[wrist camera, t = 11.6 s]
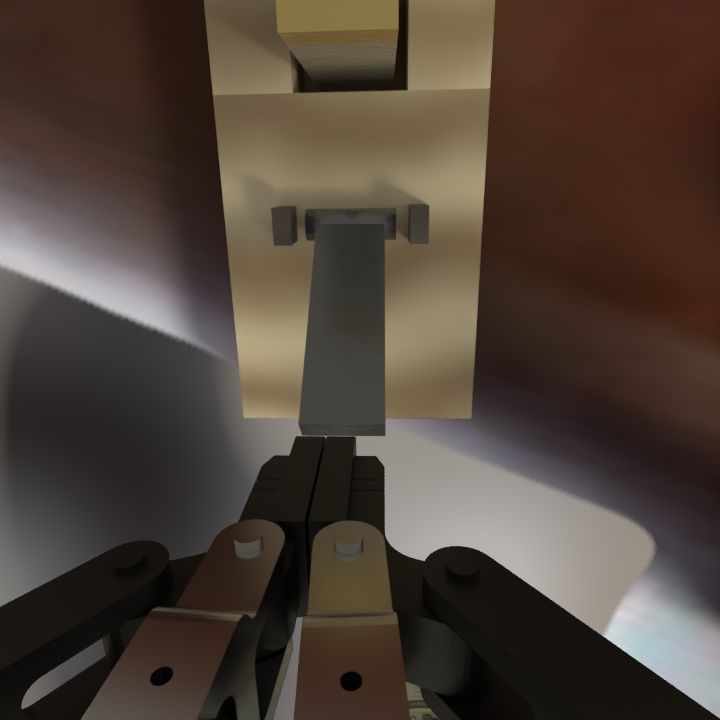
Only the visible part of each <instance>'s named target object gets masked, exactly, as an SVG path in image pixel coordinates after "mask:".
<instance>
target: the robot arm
mask: <svg viewBox="0 0 720 720" xmlns="http://www.w3.org/2000/svg"><path fill="white" fill-rule="evenodd" d="M384 496H385V495H384V466H383V465H382V463H381V462H380V461H379V459H378V458H377V457H376V456H356V437H334V436H330V437H329V436H328V437H327V438H325V437H319V436H316V437H314V436H305V437H304V436H296V438H295V441H294V444H293V447H292V450H291V453H290V455H289V456H273V457H272V458H271V459H270V460H269V461H267V462H266V463H265V464H264V465H263V466H262V467H261V469H260V472H259V474H258V476H257V481H255V484H254V486H253V488H252V492H251V493H250V495H249V498H248V500H247V503H246V505H245V507H244V510H243V512H242V514H241V517H240V519H239V522H238V523H235V524H233V525H230V526H228V527H227V528H225V529H224V530H222V531H221V532H220V533H219V534H218V535H217V536H216V538H215V539H214V541H213V543H212V545H211V546H210V548H209V549H208V551H207V552H205V553H202V554H199V555H195V556H190V557H185V558H181V559H176V560H171V561H170V559H169V552H168V550H167V548H165V546H163V545H162V544H160V543H157V542H154V541H145V540H144V541H134V542H129V543H126V544H122V545H119V546H117V547H115V548H113V549H111V550H109V551H107V552H105V553H103V554H101V555H99V556H97V557H95V558H93V559H91V560H90V561H88V562H86V563H84V564H82V565H80V566H78V567H76V568H74V569H72V570H71V571H68V572H66V573H65V574H63V575H61V576H59V577H57V578H55V579H53V580H51V581H49V582H47V583H45V584H43V585H41V586H40V587H38V588H36V589H34V590H32V591H30V592H28V593H26V594H24V595H23V596H20V597H18V598H17V599H14V600H13V601H11V602H9V603H7V604H5V605H3V606H1V607H0V720H273V719H274V715H275V711H276V708H277V704H278V701H279V697H280V694H281V690H282V686H283V683H284V680H285V676H286V672H287V669H288V665H289V662H290V658H291V655H292V650H293V642H292V635H293V632H294V628H295V623H296V618H297V617H303V621H302V630H301V641H300V653H299V664H298V676H297V688H296V699H295V709H294V720H410V712H409V705H408V697H407V689H406V682H408V683H411V684H414V685H417V686H419V687H420V692H421V695H422V698H423V700H424V701H425V703H426V704H427V706H428V707H429V708H430V709H431V711H432V712H433V713H434V714H435V715H436V716H437V717H438V718H439V719H440V720H720V718H718V717H717V716H715V715H714V714H712V713H711V712H710V711H708V710H707V709H705V708H704V707H703V706H701V705H700V704H698V703H697V702H695V701H694V700H693V699H691V698H690V697H688V696H687V695H685V694H684V693H683V692H681V691H680V690H678V689H677V688H676V687H674V686H673V685H671V684H670V683H668V682H667V681H666V680H664V679H663V678H661V677H660V676H658V675H657V674H656V673H654V672H653V671H651V670H650V669H649V668H647V667H646V666H644V665H643V664H641V663H640V662H639V661H637V660H636V659H634V658H633V657H631V656H630V655H629V654H627V653H626V652H624V651H623V650H621V649H620V648H619V647H617V646H616V645H614V644H613V643H612V642H610V641H609V640H607V639H606V638H604V637H603V636H602V635H600V634H599V633H597V632H596V631H594V630H593V629H592V628H590V627H589V626H587V625H586V624H585V623H583V622H582V621H580V620H579V619H577V618H576V617H575V616H573V615H572V614H570V613H569V612H567V611H566V610H565V609H563V608H562V607H560V606H559V605H558V604H556V603H555V602H553V601H552V600H550V599H549V598H548V597H546V596H545V595H543V594H542V593H540V592H539V591H538V590H536V589H535V588H533V587H532V586H530V585H529V584H527V583H526V582H525V581H523V580H522V579H521V578H519V577H518V576H516V575H515V574H513V573H512V572H510V571H509V570H508V569H506V568H505V567H503V566H502V565H501V564H499V563H498V562H496V561H495V560H494V559H492V558H491V557H489V556H487V555H486V554H484V553H483V552H480V551H478V550H475V549H472V548H468V547H462V546H451V547H445V548H441V549H439V550H436V551H435V552H433V553H431V554H430V555H429V556H428V557H427V559H426V560H425V561H421V560H417V559H414V558H410V557H407V556H405V555H403V554H401V553H400V552H398V551H397V550H395V549H394V548H393V547H392V546H391V545H390V544H389V543H388V541H387V539H386V537H385V528H384V527H385V522H384V520H385V519H384V518H385V513H384V512H385V511H384V510H385V506H384V505H385V504H384V500H385V499H384V498H385V497H384ZM101 638H102V640H103V645H104V649H105V653H106V656H105V657H103V658H102V659H100V660H99V661H98V662H96V663H94V664H93V665H91V666H90V667H88V668H87V669H85V670H84V671H82V672H81V673H79V674H78V675H76V676H75V677H73V678H72V679H70V680H69V681H67V682H66V683H64V684H63V685H61V686H60V687H58V688H57V689H55V690H54V691H52V692H51V693H49V694H48V695H46V696H44V697H43V698H41V699H40V700H38V701H37V702H35V703H34V704H32V705H31V706H29V707H27V708H24V709H21V703H22V700H23V697H24V695H25V693H26V692H27V690H28V689H29V688H30V686H31V685H32V684H33V683H34V682H35V681H36V680H38V679H39V678H40V677H42V676H43V675H45V674H46V673H48V672H49V671H51V670H52V669H54V668H56V667H57V666H59V665H60V664H62V663H64V662H65V661H67V660H68V659H70V658H71V657H73V656H75V655H76V654H78V653H79V652H81V651H82V650H84V649H85V648H87V647H89V646H90V645H92V644H93V643H95V642H97V641H98V640H100V639H101Z"/></svg>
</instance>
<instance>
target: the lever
mask: <svg viewBox="0 0 720 720" xmlns="http://www.w3.org/2000/svg"><path fill="white" fill-rule="evenodd" d="M305 233H306V239H307V241H315V244H314V255H313V267H312V278H311V289H310V300H309V312H308V323H307V334H306V345H305V357H304V368H303V379H302V390H301V401H300V413H299V427H300V430H301V433H302V435H308V436H309V435H310V436H311V435H312V436H317V435H318V436H321V435H322V436H385V240H396V208H335V209H306V211H305Z"/></svg>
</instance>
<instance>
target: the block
mask: <svg viewBox="0 0 720 720" xmlns="http://www.w3.org/2000/svg"><path fill="white" fill-rule="evenodd" d="M204 7H205V18H206V28H207V39H208V49H209V60H210V70H211V81H212V91H213V102H214V112H215V122H216V133H217V143H218V154H219V164H220V175H221V185H222V196H223V206H224V217H225V227H226V237H227V248H228V258H229V269H230V279H231V290H232V300H233V311H234V321H235V332H236V342H237V352H238V363H239V373H240V384H241V394H242V405H243V414H244V418H299V413H300V401H301V390H302V379H303V368H304V357H305V345H306V334H307V323H308V312H309V300H310V289H311V278H312V267H313V255H314V244H315V241H307V239H306V233H305V211H306V209H335V208H396V240H385V418H426V419H471V414H472V397H473V379H474V362H475V344H476V327H477V309H478V292H479V274H480V257H481V239H482V222H483V204H484V187H485V169H486V152H487V134H488V117H489V99H490V82H491V64H492V47H493V29H494V12H495V0H399V29H398V39H397V49H396V59H395V69H394V80H393V90H368V91H331V92H321V91H320V90H319V88H318V87H317V86H316V84H315V83H314V82H313V80H312V79H311V77H310V76H309V75H308V73H307V72H306V71H305V69H304V68H303V67H302V65H301V64H300V63H299V61H298V60H297V58H296V57H295V56H294V54H293V53H292V52H291V50H290V49H289V48H288V46H287V45H286V44H285V42H284V41H283V39H282V38H281V37H280V35H279V34H278V32H277V15H276V0H204Z"/></svg>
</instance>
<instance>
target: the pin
mask: <svg viewBox="0 0 720 720" xmlns="http://www.w3.org/2000/svg"><path fill="white" fill-rule="evenodd" d="M276 15H277V32H278V34H279V35H280V37H281V38H282V39H283V41H284V42H285V44H286V45H287V46H288V48H289V49H290V50H291V52H292V53H293V54H294V56H295V57H296V58H297V60H298V61H299V63H300V64H301V65H302V67H303V68H304V69H305V71H306V72H307V73H308V75H309V76H310V77H311V79H312V80H313V82H314V83H315V84H316V86H317V87H318V88H319V90H320V91H321V92H331V91H368V90H393V80H394V69H395V59H396V49H397V39H398V29H399V0H276Z"/></svg>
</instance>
